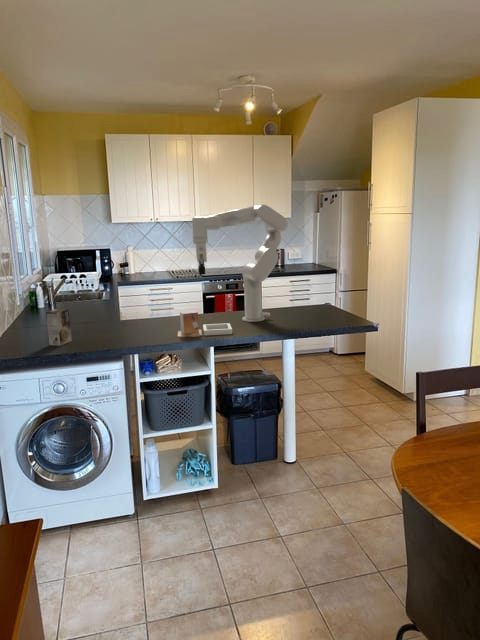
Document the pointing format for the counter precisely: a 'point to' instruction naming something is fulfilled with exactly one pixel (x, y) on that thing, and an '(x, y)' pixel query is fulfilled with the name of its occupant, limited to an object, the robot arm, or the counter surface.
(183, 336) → the cork pad
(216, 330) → the square frame
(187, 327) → the small box
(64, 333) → the coffee box
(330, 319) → the counter surface
